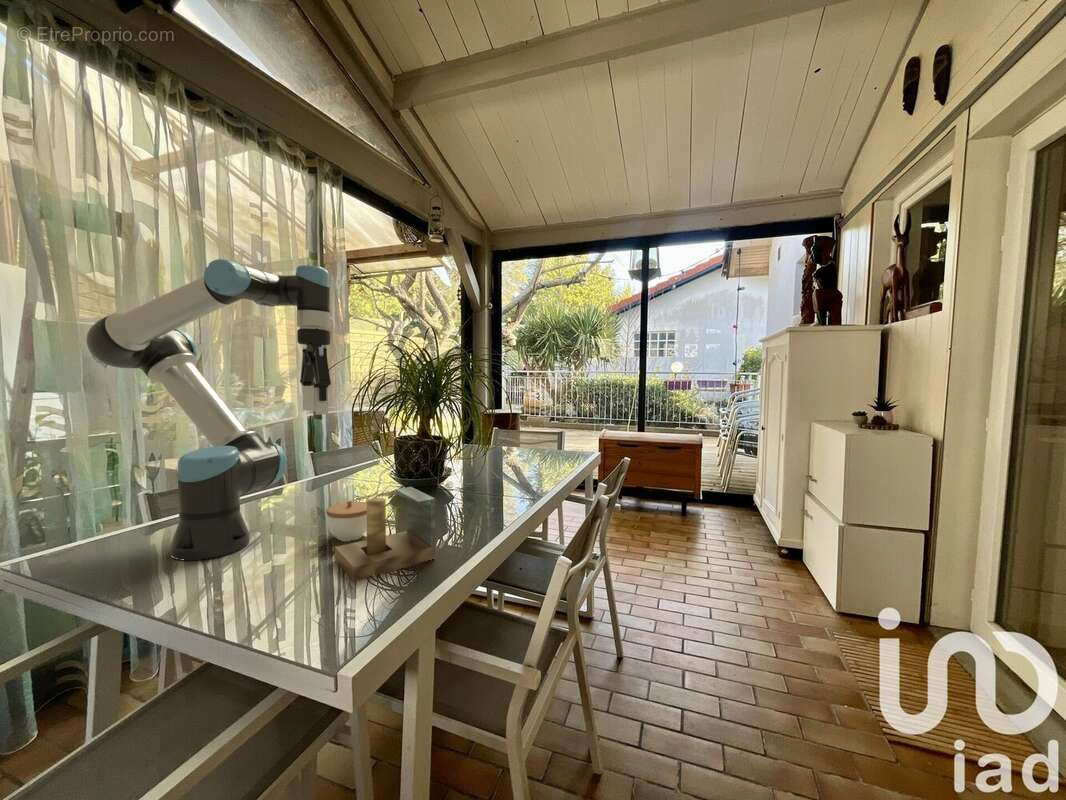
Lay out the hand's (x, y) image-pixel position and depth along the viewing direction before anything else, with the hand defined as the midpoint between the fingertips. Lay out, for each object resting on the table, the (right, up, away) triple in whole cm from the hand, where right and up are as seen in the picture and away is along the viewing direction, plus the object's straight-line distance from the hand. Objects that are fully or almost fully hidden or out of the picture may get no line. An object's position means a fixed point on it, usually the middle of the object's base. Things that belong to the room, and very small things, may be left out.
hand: (314, 412), depth 114 cm
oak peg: (+21, -33, -15) cm, 42 cm away
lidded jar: (+9, -32, 0) cm, 33 cm away
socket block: (+23, -33, -14) cm, 42 cm away
